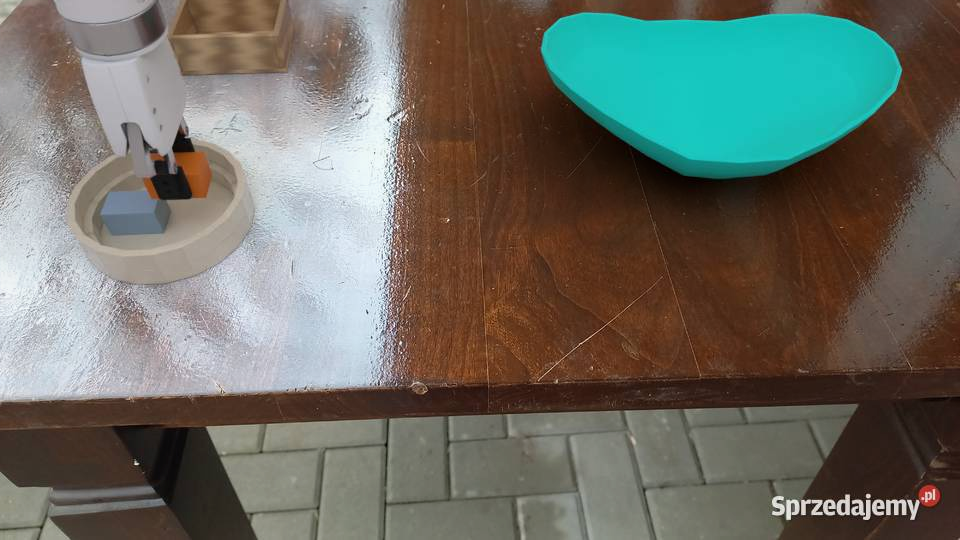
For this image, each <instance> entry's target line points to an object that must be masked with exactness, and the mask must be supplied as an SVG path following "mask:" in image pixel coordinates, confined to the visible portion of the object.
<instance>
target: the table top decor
mask: <svg viewBox="0 0 960 540" xmlns="http://www.w3.org/2000/svg"><path fill="white" fill-rule="evenodd" d="M540 52H541V55H542V58H543V62H544V66H545V67H546V70H547V73H548V74H549V76H550V78H551V81H552V83H553V84H554V85H555V86H556V87H557V88H558V89H559V90H560V91H561V92H562V93H563V94H564V95H565V96H566V97H567V98H568V99H569V100H570V101H571V102H573V104H575V105H576V106H577V107H578V109H580V110H581V111H583V112H584V113H585V114H586V116H588V117H590V118H591V119H592V120H594V121H595V122H596V123H598V125H601V126H602V128H605V129H606V130H607V131H609V132H610V133H611V134H612V135H614V136H616V137H617V138H619V139H620V140H622V141H623V142H625V143H627V145H630V146H631V147H633V148H634V149H635V150H637V151H639V152H640V153H642V154H644V155H645V156H646V157H649V158H650V159H652V160H654V161H656V162H658V163H660V164H661V165H664V166H665V167H667V168H669V169H671V170H673V172H676V173H677V174H679V175H682V176H685V177H694V178H704V179H712V180H713V179H714V180H725V179H735V178H747V177H758V176H759V177H760V176H767V175H770V174H772V173H775V172H778V171H780V170H782V169H785V168H787V167H789V166H791V165H793V164H796V163H798V162H800V161H802V160H804V159H806V158H808V157H811V156H812V155H813V156H814V155H815V154H817V153H819V152H822V151H824V150H825V149H827V148H828V147H831V146H832V145H833V144H835V143H836V142H838V141H840V140H841V139H842V138H844V137H845V136H846V135H848V134H850V133H852V132H853V131H854V130H856V129H857V128H859V127H860V126H861V125H863V124H864V123H865V122H866V121H867V120H868V119H870V118H871V117H872V115H874V114H875V113H876V112H877V111H878V110H879V109H880V108H881V107H882V105H883V104H884V103H885V102H886V101H887V100H888V99H889V98H890V97H891V96H892V95H893V94H894V93H895V92H896V91H897V87H898V86H899V85H898V84H899V81H900V78H901V75H902V72H903V68H902V66H901V64H900V60H899V58H898V56H897V53H896V50H895V49H894V48H893V47H891V45H890V44H888V43H887V41H885V40H884V39H883V38H882V37H881V36H880V35H879V34H878V33H877V32H876V31H873V30H871V29H869V28H867V27H865V26H863V25H860V24H858V23H856V22H854V21H852V20H849V19H846V18H842V17H841V18H840V17H835V16H828V15H821V14H817V13H774V14H769V13H768V14H763V15H756V16H750V17H744V18H738V19H731V20H700V19H698V20H697V19H669V20H668V19H667V20H666V19H665V20H663V19H661V20H644V19H639V18H634V17H630V16H625V15H620V14H616V13H607V12H605V13H604V12H580V13H575V14H572V15H567V16H564V17H560V18H559V19H557V21H555V22H554V23H553V24H552V25H551V26H550V27H549V28H548V29H546V31H545V32H544V33H543V38H542V43H541V47H540Z"/></svg>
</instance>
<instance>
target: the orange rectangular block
mask: <svg viewBox="0 0 960 540" xmlns="http://www.w3.org/2000/svg"><path fill="white" fill-rule="evenodd" d="M173 154H174V157H175V160H176V163H177V166H182V168H183V171H184V173H185V176H186V179H187V181H188V184H189V186H190V189H191V191H192V197H191V198H206V197H207V193H208V189H209V185H210V181H211V178H212V173H211V170H210V167H209V165H208V162H207V159H206V156H205V153H204V152H180V153H173ZM150 156H151V159H152V160H162V161H165V160H164V157H163V156H161V155H160V154H158V153H150ZM142 180H143V182H144V184H145V186H146V188H147V191H148V193H149V195H150V197H151V199H159V197H158V195H157V193H156V190H155V188H154V186H153V184H152V181H151V179H150V178H142Z"/></svg>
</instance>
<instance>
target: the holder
mask: <svg viewBox="0 0 960 540" xmlns="http://www.w3.org/2000/svg"><path fill="white" fill-rule="evenodd" d="M290 6H291V5H290V1H289V0H179V3H178V5H177V7H176V10H175V12H174V15H173V17H172V20H171V23H170V25H169V26H168V35H167V38H168V40H169V43H170V45H171V47H172V50H173V52H174V55H175V57H176V60H177V62H178V65H179V68H180V71H181V74H182V76H198V75H199V76H201V75H203V76H204V75H237V74H239V75H241V74H274V73H275V74H276V73H288V68H289V63H290V57H291V53H292V47H293V42H294V37H295V31H296V30H295V26H294V20H293V16H292V12H291V7H290Z"/></svg>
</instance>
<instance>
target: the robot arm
mask: <svg viewBox="0 0 960 540" xmlns="http://www.w3.org/2000/svg"><path fill="white" fill-rule="evenodd" d="M52 2H53V3H54V6H55V8H56V10H57V12H58V14H59V17H60V19H61V21H62V23H63V25H64V28H65V29H66V32H67V35H68V36H69V38H70V40H71V42H72V44H73V47H74V49H75V51H76V52H77V53H78V54H79V55H81V60H80V62H81V66H82V71H83V75H84V78H85V82H86V86H87V90H88V92H89V95H90V98H91V101H92V104H93V106H94V109H95V112H96V114H97V117H98V120H99V122H100V124H101V127H102V129H103V132H104V134H105V137H106V138H107V141H108V143H109V145H110V148H111V150H112V152H113V154H116V155H117V156H118V157H126V156H127V154H128V151H129V148H130V152H131V158H132V163H133V169H134V175H135V177H136V178H150V179H151V181H152V184H153V186H154V188H155V190H156V193H157V195H158V197H159V199H161V200H189V199H191V197H192V191H191V189H190V186H189V184H188V181H187V179H186V176H185V173H184V171H183V168H182V166H177V163H176V160H175V157H174V154H173V153H180V152H195V149H194V147H193V144H192V141H191V139H192V138H191V137H189V136H190V129H189V126H188V123H187V121H186V119H185V117H184V112H185V109H186V105H187V100H188V92H187V87H186V84H185V81H184V77H183V75H182V74H181V71H180V68H179V65H178V62H177V60H176V57H175V55H174V52H173V50H172V47H171V45H170V43H169V40H168V38H167V35H168V30H169V26H168V24H167V21H166V18H165V15H164V12H163V8H162V6H161V3H160V0H52ZM150 153H158V154H160V155H161V156H163V157H164V160H165V161H162V160H152V159H151V156H150Z"/></svg>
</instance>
